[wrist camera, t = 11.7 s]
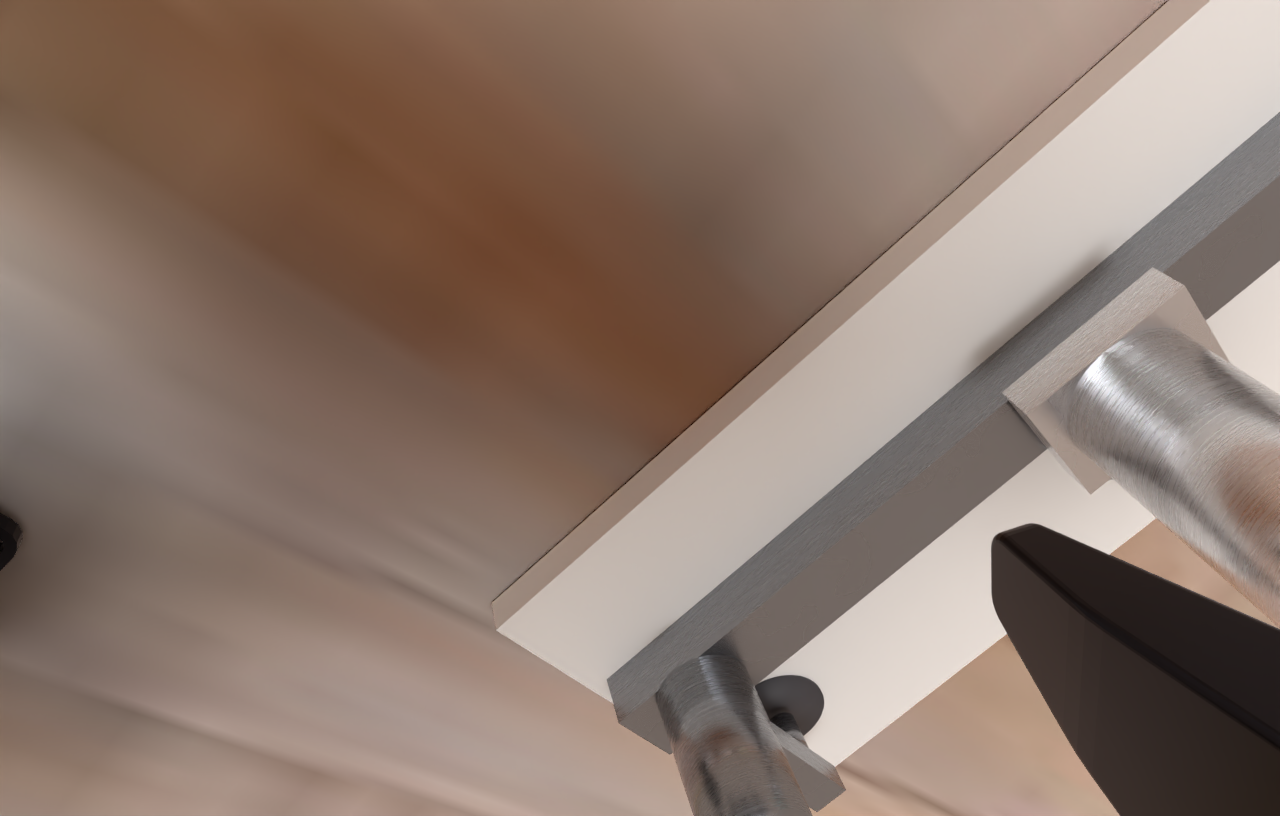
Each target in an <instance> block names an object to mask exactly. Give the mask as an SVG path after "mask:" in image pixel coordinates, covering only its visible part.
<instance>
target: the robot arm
mask: <svg viewBox="0 0 1280 816" xmlns="http://www.w3.org/2000/svg"><path fill="white" fill-rule="evenodd" d="M0 540H1V541H2V542H3V543H0V570H1V569H2V568H3V567H4V566H5V565H6V564H7V563H8V562H9V561H10V560H11V559H12V558H13V557H14V555H15V553H16V552H17V550H18V547H19V545H20V543H21V541H22V530H21V528H20V527H19V525H18V524H17V523H16V522H14V521H13V520H12V519H10V518H9V517H7V516H5V515H3V514H1V513H0ZM991 594H992V601H993V605H994V609H995V611H996V614H997V616H998V618H999V620H1000V622H1001V624H1002V626H1003V627H1004V629H1005V631H1006V633H1007V634H1008V636H1009V638H1010V640H1011V641H1012V643H1013V645H1014V647H1015V648H1016V650H1017V652H1018V654H1019V655H1020V657H1021V659H1022V661H1023V662H1024V664H1025V666H1026V668H1027V669H1028V671H1029V673H1030V675H1031V676H1032V678H1033V680H1034V682H1035V684H1036V685H1037V687H1038V689H1039V691H1040V692H1041V694H1042V696H1043V698H1044V699H1045V701H1046V703H1047V705H1048V706H1049V708H1050V710H1051V712H1052V713H1053V715H1054V717H1055V719H1056V720H1057V722H1058V724H1059V726H1060V727H1061V729H1062V731H1063V733H1064V734H1065V736H1066V738H1067V739H1068V741H1069V743H1070V744H1071V746H1072V748H1073V749H1074V751H1075V753H1076V754H1077V756H1078V757H1079V759H1080V760H1081V761H1082V763H1083V764H1084V766H1085V767H1086V769H1087V770H1088V772H1089V773H1090V775H1091V776H1092V777H1093V779H1094V780H1095V782H1096V783H1097V784H1098V786H1099V787H1100V789H1101V790H1102V791H1103V793H1104V794H1105V795H1106V797H1107V798H1108V800H1109V801H1110V802H1111V804H1112V805H1113V807H1114V808H1115V809H1116V811H1117V812H1118V813H1119V815H1120V816H1280V629H1278V628H1276V627H1274V626H1271V625H1269V624H1267V623H1264V622H1262V621H1260V620H1258V619H1255V618H1253V617H1251V616H1248V615H1246V614H1244V613H1242V612H1239V611H1237V610H1235V609H1232V608H1230V607H1228V606H1226V605H1223V604H1221V603H1219V602H1216V601H1214V600H1212V599H1210V598H1207V597H1205V596H1203V595H1200V594H1198V593H1196V592H1194V591H1191V590H1189V589H1187V588H1184V587H1182V586H1180V585H1178V584H1175V583H1173V582H1171V581H1168V580H1166V579H1164V578H1162V577H1159V576H1157V575H1155V574H1152V573H1150V572H1148V571H1146V570H1143V569H1141V568H1139V567H1136V566H1134V565H1132V564H1130V563H1127V562H1125V561H1123V560H1120V559H1118V558H1116V557H1114V556H1111V555H1109V554H1107V553H1104V552H1102V551H1100V550H1098V549H1095V548H1093V547H1091V546H1088V545H1086V544H1084V543H1082V542H1079V541H1077V540H1075V539H1072V538H1070V537H1068V536H1066V535H1063V534H1061V533H1059V532H1056V531H1054V530H1052V529H1050V528H1047V527H1045V526H1042V525H1040V524H1035V523H1028V524H1025V525H1022V526H1018V527H1015V528H1012V529H1009V530H1006V531H1003V532H1000V533H998V534H996V535H995V536H994V538H993V540H992V544H991Z"/></svg>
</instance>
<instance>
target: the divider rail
mask: <svg viewBox="0 0 1280 816" xmlns="http://www.w3.org/2000/svg"><path fill="white" fill-rule="evenodd" d="M1279 261H1280V112H1279V113H1278V114H1276V115H1275V116H1274V117H1273V118H1272V119H1271V120H1269V121H1268V122H1267V123H1266V124H1265V125H1263V126H1262V127H1261V128H1260V129H1259V130H1257V131H1256V132H1255V133H1254V134H1253V135H1252V136H1250V137H1249V138H1248V139H1247V140H1246V141H1244V142H1243V143H1242V144H1241V145H1240V146H1239V147H1237V148H1236V149H1235V150H1234V151H1233V152H1231V153H1230V154H1229V155H1228V156H1227V157H1225V158H1224V159H1223V160H1222V161H1221V162H1220V163H1218V164H1217V165H1216V166H1215V167H1214V168H1212V169H1211V170H1210V171H1209V172H1208V173H1207V174H1205V175H1204V176H1203V177H1202V178H1201V179H1199V180H1198V181H1197V182H1196V183H1195V184H1193V185H1192V186H1191V187H1190V188H1189V189H1188V190H1186V191H1185V192H1184V193H1183V194H1182V195H1180V196H1179V197H1178V198H1177V199H1176V200H1174V201H1173V202H1172V203H1171V204H1170V205H1169V206H1167V207H1166V208H1165V209H1164V210H1163V211H1161V212H1160V213H1159V214H1158V215H1157V216H1156V217H1154V218H1153V219H1152V220H1151V221H1150V222H1148V223H1147V224H1146V225H1145V226H1144V227H1142V228H1141V229H1140V230H1139V231H1138V232H1137V233H1135V234H1134V235H1133V236H1132V237H1131V238H1129V239H1128V240H1127V241H1126V242H1125V243H1123V244H1122V245H1121V246H1120V247H1119V248H1118V249H1116V250H1115V251H1114V252H1113V253H1112V254H1110V255H1109V256H1108V257H1107V258H1106V259H1105V260H1103V261H1102V262H1101V263H1100V264H1099V265H1097V266H1096V267H1095V268H1094V269H1093V270H1091V271H1090V272H1089V273H1088V274H1087V275H1086V276H1084V277H1083V278H1082V279H1081V280H1080V281H1078V282H1077V283H1076V284H1075V285H1074V286H1072V287H1071V288H1070V289H1069V290H1068V291H1067V292H1065V293H1064V294H1063V295H1062V296H1061V297H1059V298H1058V299H1057V300H1056V301H1055V302H1054V303H1052V304H1051V305H1050V306H1049V307H1048V308H1046V309H1045V310H1044V311H1043V312H1042V313H1040V314H1039V315H1038V316H1037V317H1036V318H1035V319H1033V320H1032V321H1031V322H1030V323H1029V324H1027V325H1026V326H1025V327H1024V328H1023V329H1022V330H1020V331H1019V332H1018V333H1017V334H1016V335H1014V336H1013V337H1012V338H1011V339H1010V340H1008V341H1007V342H1006V343H1005V344H1004V345H1003V346H1001V347H1000V348H999V349H998V350H997V351H995V352H994V353H993V354H992V355H991V356H989V357H988V358H987V359H986V360H985V361H984V362H982V363H981V364H980V365H979V366H978V367H976V368H975V369H974V370H973V371H972V372H971V373H969V374H968V375H967V376H966V377H965V378H963V379H962V380H961V381H960V382H959V383H957V384H956V385H955V386H954V387H953V388H952V389H950V390H949V391H948V392H947V393H946V394H944V395H943V396H942V397H941V398H940V399H938V400H937V401H936V402H935V403H934V404H933V405H931V406H930V407H929V408H928V409H927V410H925V411H924V412H923V413H922V414H921V415H920V416H918V417H917V418H916V419H915V420H914V421H912V422H911V423H910V424H909V425H908V426H906V427H905V428H904V429H903V430H902V431H901V432H899V433H898V434H897V435H896V436H895V437H893V438H892V439H891V440H890V441H889V442H887V443H886V444H885V445H884V446H883V447H882V448H880V449H879V450H878V451H877V452H876V453H874V454H873V455H872V456H871V457H870V458H869V459H867V460H866V461H865V462H864V463H863V464H861V465H860V466H859V467H858V468H857V469H855V470H854V471H853V472H852V473H851V474H850V475H848V476H847V477H846V478H845V479H844V480H842V481H841V482H840V483H839V484H838V485H837V486H835V487H834V488H833V489H832V490H831V491H829V492H828V493H827V494H826V495H825V496H823V497H822V498H821V499H820V500H819V501H818V502H816V503H815V504H814V505H813V506H812V507H810V508H809V509H808V510H807V511H806V512H804V513H803V514H802V515H801V516H800V517H799V518H797V519H796V520H795V521H794V522H793V523H791V524H790V525H789V526H788V527H787V528H786V529H784V530H783V531H782V532H781V533H780V534H778V535H777V536H776V537H775V538H774V539H772V540H771V541H770V542H769V543H768V544H767V545H765V546H764V547H763V548H762V549H761V550H759V551H758V552H757V553H756V554H755V555H753V556H752V557H751V558H750V559H749V560H748V561H746V562H745V563H744V564H743V565H742V566H740V567H739V568H738V569H737V570H736V571H735V572H733V573H732V574H731V575H730V576H729V577H727V578H726V579H725V580H724V581H723V582H721V583H720V584H719V585H718V586H717V587H716V588H714V589H713V590H712V591H711V592H710V593H708V594H707V595H706V596H705V597H704V598H702V599H701V600H700V601H699V602H698V603H697V604H695V605H694V606H693V607H692V608H691V609H689V610H688V611H687V612H686V613H685V614H684V615H682V616H681V617H680V618H679V619H678V620H676V621H675V622H674V623H673V624H672V625H670V626H669V627H668V628H667V629H666V630H665V631H663V632H662V633H661V634H660V635H659V636H657V637H656V638H655V639H654V640H653V641H651V642H650V643H649V644H648V645H647V646H646V647H644V648H643V649H642V650H641V651H640V652H638V653H637V654H636V655H635V656H634V657H633V658H631V659H630V660H629V661H628V662H627V663H625V664H624V665H623V666H622V667H621V668H619V669H618V670H617V671H616V672H615V673H614V674H612V675H611V676H610V677H609V678H608V679H607V683H608V686H609V690H610V693H611V697H612V700H613V704H614V708H615V711H616V715H617V718H618V722H619V724H621V725H623V726H624V727H626V728H627V729H629V730H631V731H632V732H634V733H636V734H637V735H639V736H640V737H642V738H644V739H645V740H647V741H649V742H650V743H652V744H653V745H655V746H657V747H658V748H660V749H662V750H663V751H665V752H666V753H668V754H672V753H673V754H674V757H675V760H676V763H677V766H678V769H679V773H680V776H681V779H682V782H683V785H684V788H685V791H686V794H687V797H688V800H689V803H690V806H691V809H692V812H693V815H694V816H812V814H811V811H810V809H809V807H810V808H812V809H813V810H815V811H816V812H818V811H819V810H821V809H822V808H823V807H825V806H826V805H827V804H828V803H830V802H831V801H832V800H834V799H835V798H836V797H838V796H839V795H840V794H842V793H843V792H844V791H845V790H846V789H845V787H844V785H843V783H842V781H841V779H840V777H839V775H838V773H837V771H836V769H835V767H834V765H832V764H831V763H829V762H828V761H826V760H825V759H824V758H822V757H821V756H819V755H818V754H816V753H815V752H813V751H812V750H811V749H809V747H808V745H807V743H806V741H805V739H804V737H803V735H802V733H801V730H800V728H799V726H798V724H797V722H796V720H795V718H794V716H793V715H792V714H791V713H787V712H783V713H779V714H777V715H775V716H773V717H772V718H771V719H770V720H769V718H768V715H767V713H766V711H765V709H764V706H763V704H762V702H761V700H760V697H759V695H758V693H757V691H756V689H755V685H757V684H758V683H759V682H760V681H762V680H763V679H764V678H765V677H767V676H768V675H769V674H770V673H772V672H773V671H774V670H775V669H776V668H778V667H779V666H780V665H781V664H783V663H784V662H785V661H786V660H788V659H789V658H790V657H791V656H792V655H794V654H795V653H796V652H797V651H799V650H800V649H801V648H802V647H804V646H805V645H806V644H807V643H809V642H810V641H811V640H812V639H813V638H815V637H816V636H817V635H818V634H820V633H821V632H822V631H823V630H825V629H826V628H827V627H828V626H830V625H831V624H832V623H833V622H834V621H836V620H837V619H838V618H839V617H841V616H842V615H843V614H844V613H846V612H847V611H848V610H849V609H851V608H852V607H853V606H854V605H855V604H857V603H858V602H859V601H860V600H862V599H863V598H864V597H865V596H867V595H868V594H869V593H870V592H871V591H873V590H874V589H875V588H876V587H878V586H879V585H880V584H881V583H883V582H884V581H885V580H886V579H888V578H889V577H890V576H891V575H892V574H894V573H895V572H896V571H897V570H899V569H900V568H901V567H902V566H904V565H905V564H906V563H907V562H909V561H910V560H911V559H912V558H913V557H915V556H916V555H917V554H918V553H920V552H921V551H922V550H923V549H925V548H926V547H927V546H928V545H930V544H931V543H932V542H933V541H934V540H936V539H937V538H938V537H939V536H941V535H942V534H943V533H944V532H946V531H947V530H948V529H949V528H951V527H952V526H953V525H954V524H955V523H957V522H958V521H959V520H960V519H962V518H963V517H964V516H965V515H967V514H968V513H969V512H970V511H971V510H973V509H974V508H975V507H976V506H978V505H979V504H980V503H981V502H983V501H984V500H985V499H986V498H988V497H989V496H990V495H991V494H992V493H994V492H995V491H996V490H997V489H999V488H1000V487H1001V486H1002V485H1004V484H1005V483H1006V482H1007V481H1009V480H1010V479H1011V478H1012V477H1013V476H1015V475H1016V474H1017V473H1018V472H1020V471H1021V470H1022V469H1023V468H1025V467H1026V466H1027V465H1028V464H1030V463H1031V462H1032V461H1033V460H1034V459H1036V458H1037V457H1038V456H1039V455H1041V454H1042V453H1043V452H1044V451H1046V450H1047V448H1046V447H1045V445H1044V444H1043V443H1042V442H1041V440H1040V439H1039V438H1038V437H1037V435H1036V434H1035V433H1034V432H1033V430H1032V429H1031V428H1030V427H1029V425H1028V424H1027V423H1026V422H1025V421H1024V419H1023V418H1022V417H1021V416H1020V414H1019V413H1018V412H1017V411H1016V409H1015V408H1014V407H1013V406H1012V404H1011V403H1010V402H1009V401H1008V399H1007V398H1006V397H1005V396H1004V395H1003V393H1002V392H1003V391H1004V390H1005V389H1007V388H1008V387H1009V386H1010V385H1011V384H1013V383H1014V382H1015V381H1016V380H1017V379H1019V378H1020V377H1021V376H1022V375H1024V374H1025V373H1026V372H1027V371H1028V370H1030V369H1031V368H1032V367H1033V366H1034V365H1036V364H1037V363H1038V362H1039V361H1040V360H1042V359H1043V358H1044V357H1045V356H1046V355H1048V354H1049V353H1050V352H1051V351H1052V350H1054V349H1055V348H1056V347H1057V346H1058V345H1060V344H1061V343H1062V342H1063V341H1064V340H1066V339H1067V338H1068V337H1069V336H1070V335H1072V334H1073V333H1074V332H1075V331H1076V330H1078V329H1079V328H1080V327H1081V326H1082V325H1084V324H1085V323H1086V322H1087V321H1088V320H1090V319H1091V318H1092V317H1093V316H1094V315H1096V314H1097V313H1098V312H1099V311H1100V310H1102V309H1103V308H1104V307H1105V306H1106V305H1108V304H1109V303H1110V302H1111V301H1112V300H1114V299H1115V298H1116V297H1117V296H1118V295H1120V294H1121V293H1122V292H1123V291H1124V290H1126V289H1127V288H1128V287H1129V286H1130V285H1132V284H1133V283H1134V282H1135V281H1136V280H1138V279H1139V278H1140V277H1141V276H1142V275H1144V274H1145V273H1146V272H1147V271H1148V270H1150V269H1151V268H1152V267H1153V268H1155V269H1157V270H1159V271H1160V272H1162V273H1164V274H1166V275H1167V276H1169V277H1171V278H1172V279H1174V280H1176V281H1178V282H1179V283H1181V284H1183V285H1185V287H1186V288H1187V290H1188V292H1189V293H1190V295H1191V297H1192V299H1193V300H1194V302H1195V304H1196V305H1197V307H1198V309H1199V310H1200V312H1201V314H1202V316H1203V317H1204V319H1205V321H1206V320H1207V319H1209V318H1210V317H1211V316H1212V315H1213V314H1215V313H1216V312H1217V311H1218V310H1220V309H1221V308H1222V307H1223V306H1225V305H1226V304H1227V303H1228V302H1229V301H1231V300H1232V299H1233V298H1234V297H1236V296H1237V295H1238V294H1239V293H1241V292H1242V291H1243V290H1244V289H1246V288H1247V287H1248V286H1249V285H1250V284H1252V283H1253V282H1254V281H1255V280H1257V279H1258V278H1259V277H1260V276H1262V275H1263V274H1264V273H1265V272H1267V271H1268V270H1269V269H1270V268H1271V267H1273V266H1274V265H1275V264H1276V263H1278V262H1279Z"/></svg>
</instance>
